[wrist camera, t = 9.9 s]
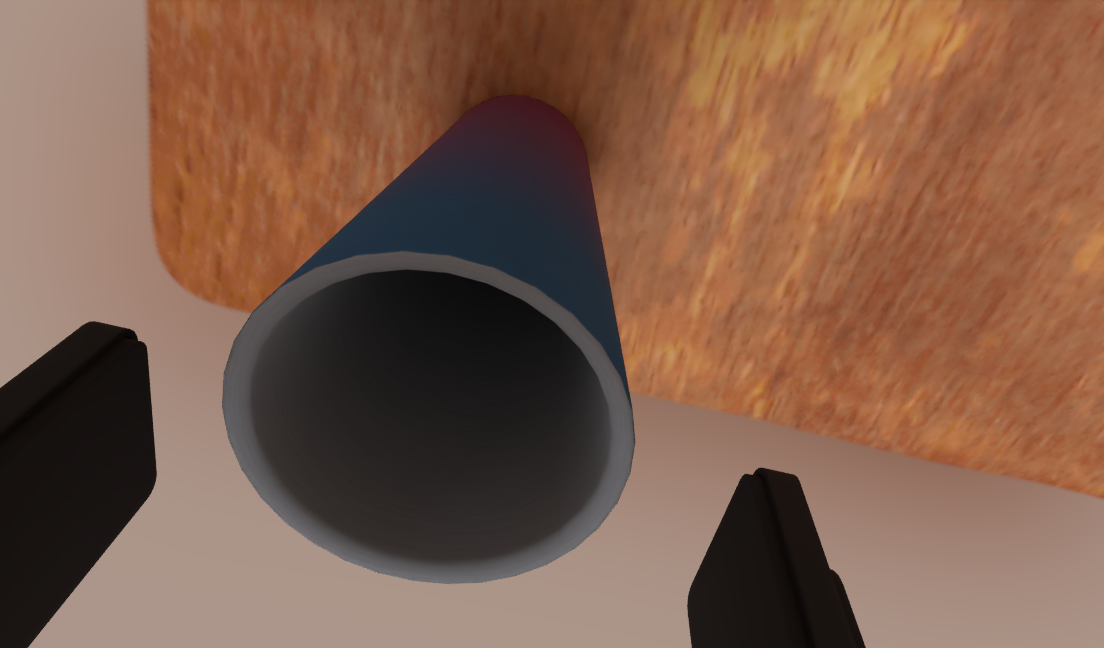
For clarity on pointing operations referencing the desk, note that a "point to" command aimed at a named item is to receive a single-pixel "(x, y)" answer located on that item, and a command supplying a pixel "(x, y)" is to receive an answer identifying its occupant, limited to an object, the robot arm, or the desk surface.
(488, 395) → the cup
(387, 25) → the desk surface
